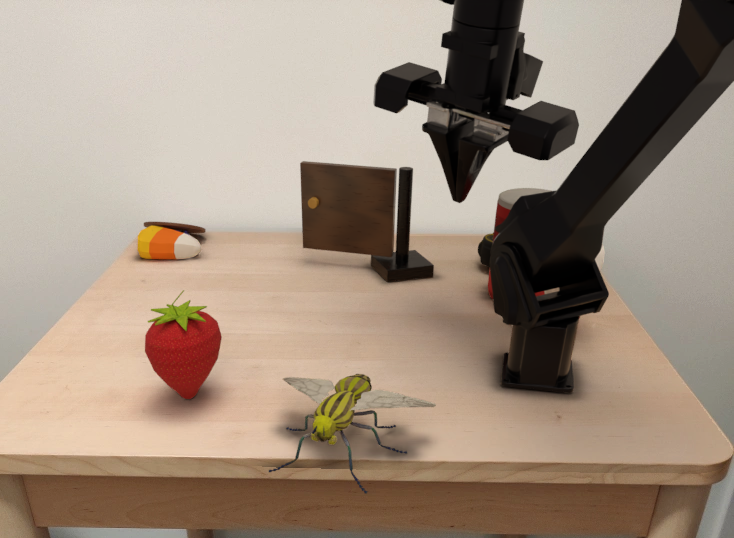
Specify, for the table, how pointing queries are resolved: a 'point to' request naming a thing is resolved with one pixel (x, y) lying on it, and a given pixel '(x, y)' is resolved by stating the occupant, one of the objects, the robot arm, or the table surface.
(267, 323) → the table surface
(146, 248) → the candy corn
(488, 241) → the tape measure
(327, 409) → the insect
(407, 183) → the door post
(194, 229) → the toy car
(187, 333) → the strawberry
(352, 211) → the door
